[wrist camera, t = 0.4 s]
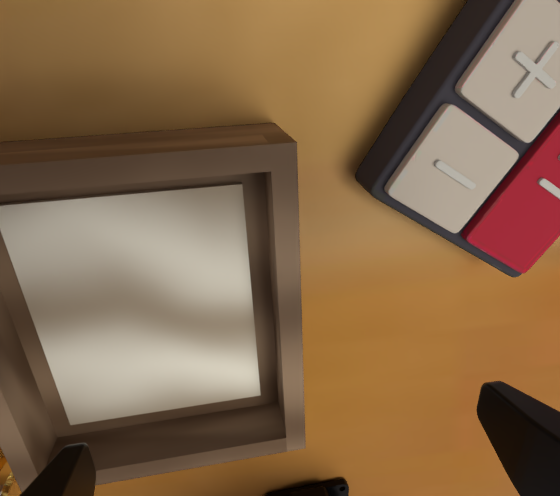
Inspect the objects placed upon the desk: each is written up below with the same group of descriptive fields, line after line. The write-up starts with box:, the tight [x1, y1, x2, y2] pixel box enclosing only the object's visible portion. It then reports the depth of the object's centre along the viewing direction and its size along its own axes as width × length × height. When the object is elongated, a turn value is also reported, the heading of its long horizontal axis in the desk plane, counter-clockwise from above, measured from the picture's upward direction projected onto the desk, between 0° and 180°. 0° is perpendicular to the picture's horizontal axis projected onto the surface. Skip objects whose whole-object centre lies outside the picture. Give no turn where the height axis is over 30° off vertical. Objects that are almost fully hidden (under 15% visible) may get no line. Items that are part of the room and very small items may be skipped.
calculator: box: [356, 0, 560, 277], centre depth 20 cm, size 11×4×15 cm
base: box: [0, 123, 305, 492], centre depth 20 cm, size 16×14×6 cm
